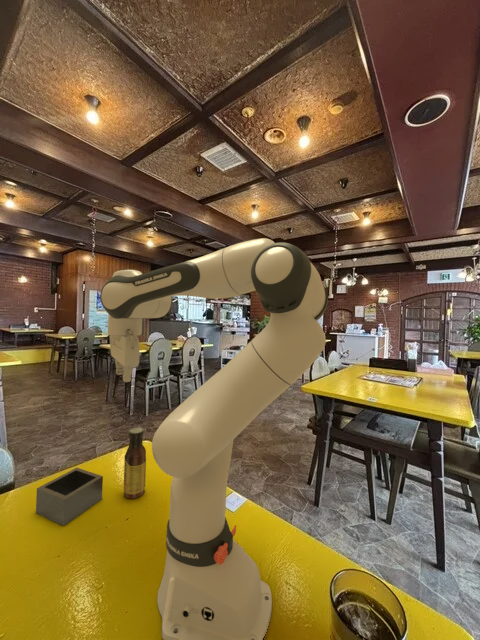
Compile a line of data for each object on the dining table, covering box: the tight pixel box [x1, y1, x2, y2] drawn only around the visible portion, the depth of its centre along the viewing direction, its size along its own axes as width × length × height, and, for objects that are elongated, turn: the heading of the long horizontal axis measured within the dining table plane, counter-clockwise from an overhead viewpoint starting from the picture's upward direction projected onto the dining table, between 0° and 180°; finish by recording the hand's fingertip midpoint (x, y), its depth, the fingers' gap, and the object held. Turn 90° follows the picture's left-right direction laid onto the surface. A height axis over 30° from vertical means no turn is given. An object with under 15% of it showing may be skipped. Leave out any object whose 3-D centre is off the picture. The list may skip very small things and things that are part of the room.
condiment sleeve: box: [35, 467, 104, 527], centre depth 80 cm, size 11×12×7 cm
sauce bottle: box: [123, 427, 147, 499], centre depth 86 cm, size 6×6×20 cm
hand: (123, 377), depth 79 cm, fingers open, 8 cm apart
